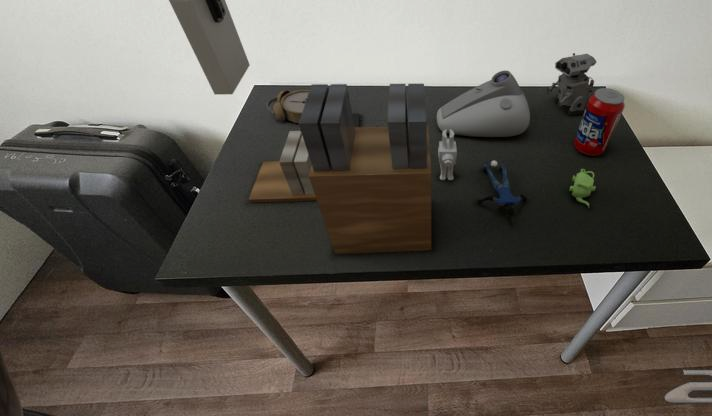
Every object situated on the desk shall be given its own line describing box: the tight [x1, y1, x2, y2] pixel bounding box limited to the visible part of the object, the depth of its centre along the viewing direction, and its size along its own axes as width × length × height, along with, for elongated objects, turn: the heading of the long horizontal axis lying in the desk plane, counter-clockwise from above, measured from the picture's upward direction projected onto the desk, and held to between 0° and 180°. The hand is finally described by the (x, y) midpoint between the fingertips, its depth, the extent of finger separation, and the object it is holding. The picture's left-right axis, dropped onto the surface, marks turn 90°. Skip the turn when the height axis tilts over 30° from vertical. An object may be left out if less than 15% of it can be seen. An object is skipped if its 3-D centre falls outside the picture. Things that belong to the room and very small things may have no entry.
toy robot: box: [437, 129, 458, 181], centre depth 80 cm, size 4×8×12 cm, turn 3°
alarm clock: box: [266, 89, 310, 124], centre depth 97 cm, size 11×5×15 cm
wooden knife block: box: [298, 83, 432, 255], centre depth 63 cm, size 12×18×28 cm, turn 95°
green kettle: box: [569, 168, 597, 208], centre depth 79 cm, size 6×5×6 cm
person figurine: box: [477, 160, 528, 217], centre depth 79 cm, size 11×4×18 cm
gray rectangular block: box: [168, 0, 251, 95], centre depth 57 cm, size 10×3×14 cm, turn 5°
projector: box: [436, 69, 531, 138], centre depth 93 cm, size 22×23×15 cm
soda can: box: [573, 87, 626, 157], centre depth 87 cm, size 8×8×15 cm
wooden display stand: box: [247, 130, 317, 204], centre depth 77 cm, size 12×14×10 cm
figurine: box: [546, 52, 597, 117], centre depth 99 cm, size 9×12×15 cm
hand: (207, 20), depth 55 cm, fingers closed on gray rectangular block, 3 cm apart
